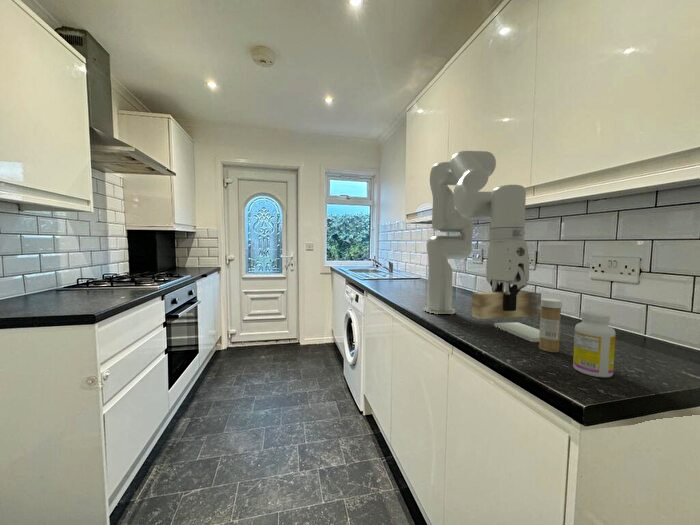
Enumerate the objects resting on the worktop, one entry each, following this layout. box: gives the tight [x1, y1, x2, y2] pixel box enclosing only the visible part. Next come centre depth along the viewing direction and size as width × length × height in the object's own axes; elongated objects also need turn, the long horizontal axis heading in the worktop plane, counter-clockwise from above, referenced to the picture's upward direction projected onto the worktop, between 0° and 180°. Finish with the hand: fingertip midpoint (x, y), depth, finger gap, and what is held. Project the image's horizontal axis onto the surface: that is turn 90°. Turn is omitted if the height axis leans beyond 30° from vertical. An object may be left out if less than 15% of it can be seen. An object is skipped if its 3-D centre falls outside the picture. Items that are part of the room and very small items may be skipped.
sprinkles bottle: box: [538, 298, 563, 353], centre depth 74 cm, size 5×5×14 cm
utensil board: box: [493, 322, 540, 343], centre depth 89 cm, size 16×9×1 cm, turn 9°
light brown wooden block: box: [471, 289, 542, 320], centre depth 71 cm, size 15×7×6 cm, turn 100°
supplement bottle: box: [572, 310, 616, 378], centre depth 61 cm, size 7×7×13 cm
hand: (504, 308), depth 71 cm, fingers closed on light brown wooden block, 3 cm apart
